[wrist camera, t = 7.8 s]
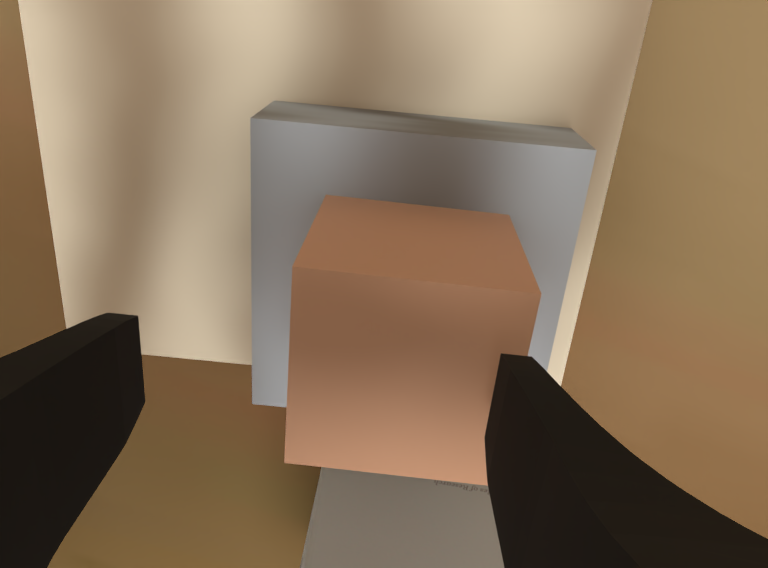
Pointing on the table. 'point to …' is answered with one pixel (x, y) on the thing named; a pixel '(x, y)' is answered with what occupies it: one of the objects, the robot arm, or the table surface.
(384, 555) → the supplement box
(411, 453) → the block
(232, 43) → the base board
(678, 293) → the table surface
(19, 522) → the robot arm
